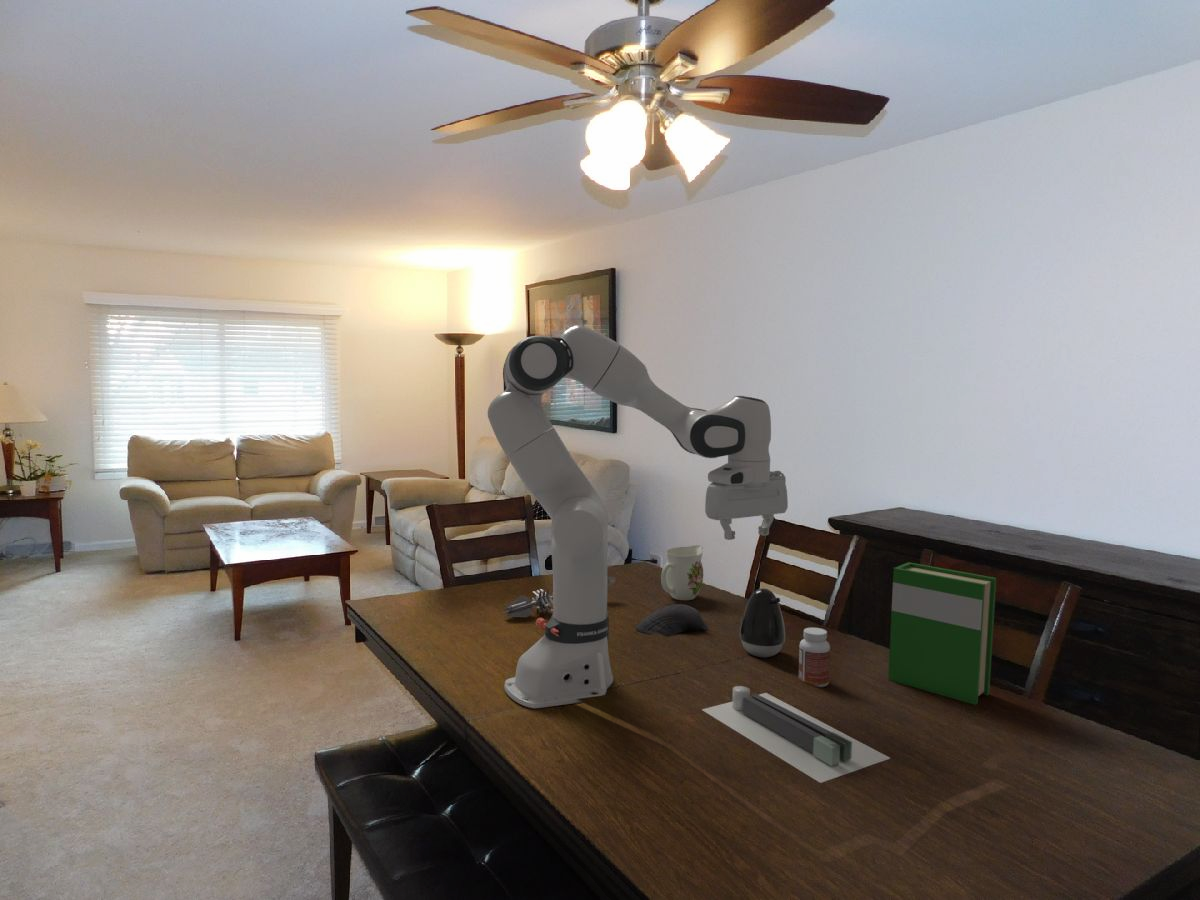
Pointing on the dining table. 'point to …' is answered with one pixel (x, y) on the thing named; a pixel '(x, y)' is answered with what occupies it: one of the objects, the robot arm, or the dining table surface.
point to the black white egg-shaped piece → (762, 624)
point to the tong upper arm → (813, 728)
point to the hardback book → (942, 631)
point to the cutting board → (789, 749)
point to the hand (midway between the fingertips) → (746, 537)
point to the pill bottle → (814, 657)
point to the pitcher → (683, 572)
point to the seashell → (672, 621)
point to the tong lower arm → (786, 726)
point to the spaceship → (535, 603)
